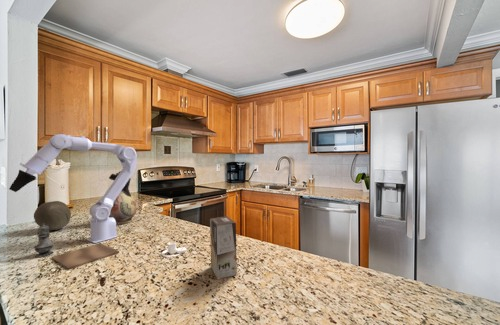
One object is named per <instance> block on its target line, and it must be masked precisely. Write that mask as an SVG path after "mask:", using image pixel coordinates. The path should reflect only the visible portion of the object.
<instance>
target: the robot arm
mask: <svg viewBox="0 0 500 325" xmlns="http://www.w3.org/2000/svg"><path fill="white" fill-rule="evenodd" d="M63 149H66V150H69V151H78V152H79V151H80V152H88V151H89V150H99V151H104V152H105V151H106V152H110V153H111V154H113V155H116V158H117V159H118V160H119V161H120V163H121V166H122V169H121V170H120V171H121V172H120V171H119V172H120V173H119V172H118V173H119V175H118V176H117V177H116V179H115V180H113V182H112V183H111V184H110V186H109V187H108V188H107V189H106V191H105V193H104V194H103V195H102V197H101V198H100V199H98V200H97V201H96V202H95V204H92V205H91V206H90V208H89V210H88V211H89V214H90V216H91V219H90V223H89V226H90V230H89V231H90V237H89V238H87V239H86V240H87V241H88V242H91V243H93V244H98V243H101V242H104V241H107V240H112V239H115V238H117V237H118V236H117V224H116V221H115V219H114V218H113V217H111V218H109V215H110V211H111V208H112V207H113V202H114V201H115V199H116V198H117V196H118V195H119V193H120V192H121V190H122V189H123V187H124V186H125V185H126V183H127V182H128V180H129V179H130V178H131V177H132V176H133V174H134V173H135V171H136V169H137V159H138V155H137V152H136V149H135V148H133V147H131V146H126V145H123V144H117V143H107V142H99V141H98V142H97V141H92V140H90V139H89V138H88V137H86V136H83V135H81V136H79V137H78V136H73V135H71V134H67V135H66V134H64V133H62V134H61V133H60V134H55V135H53V136H51V137H50V138H49V140H48V142H46V143H45V144H44V146H42V147H41V148H40V149H39V150H37V152H36V153H35V154H34V155H33V156H32V157H31V158H30V159H29V160H28V161H27V162H26V163H25V164H24V163H21V162H20V163H19V165H20V166H22V167H23V168H25V170H26V171H23V170H21V169H19V170H18V174H17V176H16V178H15V179H14V181H13V182H12V184H11V185H10V186H9V188H8V190H10V191H13V192H15V193H17V192H19V191H20V190H21V189H22V188H23V187H25V186H27V185H28V184H29V183H32V182H34V181H35V180H37V176H35V175H34V174H37V175H39V176H41V175H42V173H43V172H44V171H45V170H46V169H47V168H48V166H50V164H52V162H54V160H55V159H56V158H57V157H58V156H59V154H60V153H61V152H62V151H63Z"/></svg>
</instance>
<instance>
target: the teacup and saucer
mask: <svg viewBox="0 0 500 325" xmlns="http://www.w3.org/2000/svg"><path fill="white" fill-rule="evenodd" d="M164 247H165V250H163V251H162V252H161V256H163V257H165V258H173V257H177V256H180V255H182V254H183V253H185V252H186V251H187V248H186V247H185V246H183V247H178V248H177V242H176V241H169V242H168V243H166V244H165V245H164ZM167 252H168V253H169V254H171V255H167V254H166V253H167ZM173 254H174V255H173Z"/></svg>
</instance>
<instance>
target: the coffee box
mask: <svg viewBox="0 0 500 325" xmlns="http://www.w3.org/2000/svg"><path fill="white" fill-rule="evenodd" d="M209 227H210V228H209V231H210V233H209V234H210V235H209V236H210V237H209V238H210V267H211V270H212V271H213V273H214V275H215V277H216V279H217V280H220V279H223V278H229V277H233V276H237V272H238V267H237V264H238V262H237V261H238V260H237V222H235V221H234V220H233V219H231V218H230V217H229V216H218V217H213V218H211V217H210V218H209Z"/></svg>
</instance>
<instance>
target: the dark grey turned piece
mask: <svg viewBox="0 0 500 325" xmlns="http://www.w3.org/2000/svg"><path fill="white" fill-rule="evenodd" d="M49 231H50V230H49V227H48V226H47V225H44V223H43V224H42V226H41V227H40V226H39V227H38V235H37V238H38V243H37V244H36V245H35V246H33V248H34V250H35V252H36V253H37V254H35V256H34V258H43V257H48V256H51V255H53V254H54V251H52V249H54V248H53V247H54V245H55V242H53V241H52V242H51V240H50V235H51V233H50V232H49Z"/></svg>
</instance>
